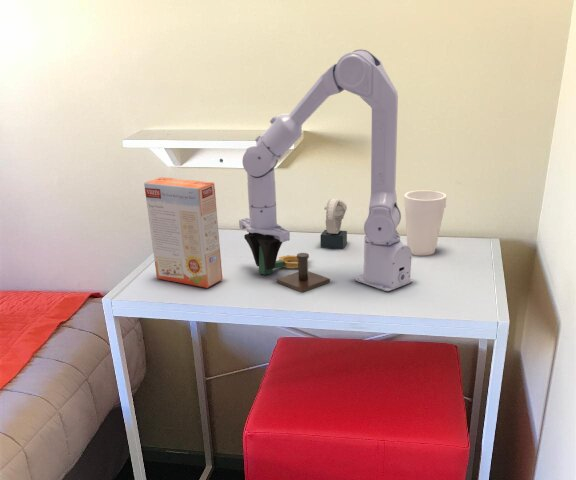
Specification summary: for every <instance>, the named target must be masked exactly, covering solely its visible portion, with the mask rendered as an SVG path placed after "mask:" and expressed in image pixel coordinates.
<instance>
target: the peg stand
mask: <svg viewBox="0 0 576 480" xmlns="http://www.w3.org/2000/svg"><path fill="white" fill-rule="evenodd" d="M309 254H310V253H308V252H298V253H297V254H296V256H297V258H298V261H297V262H298V268H297V269H298V271H297V272H294V273H291V274H288V275H285V276H282V277H278V278H276V283H277V284H279V285H281V286H284V287H287V288H290V289H292V290H295V291H297V292H300V293H304V292H307V291H310V290H313V289H315V288H318V287H321V286H323V285H326V284H329V283H331V279H330V278H329V277H326V276H323V275H320V274H318V273H315V272H311V271H309V258H310V255H309Z"/></svg>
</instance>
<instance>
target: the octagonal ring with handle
mask: <svg viewBox="0 0 576 480" xmlns="http://www.w3.org/2000/svg"><path fill="white" fill-rule="evenodd" d="M284 267H285V268H292V269H295V268H296V269H298V258H297V255H292V254H291V255H290V254H289V255H283V256H279V258H278V260H276V263H275V268H272V269H269V270H266V268H265V265H264V256H263V252H262V248H261V246H259V266H258V273H259V274H262V275H264V276H266V275H272V274H273V273H274V270H275V269H280V268H284Z"/></svg>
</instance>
